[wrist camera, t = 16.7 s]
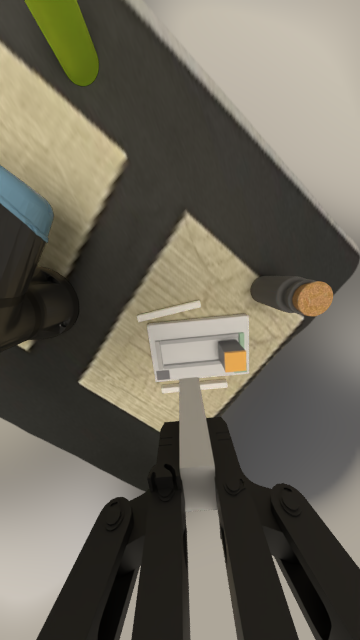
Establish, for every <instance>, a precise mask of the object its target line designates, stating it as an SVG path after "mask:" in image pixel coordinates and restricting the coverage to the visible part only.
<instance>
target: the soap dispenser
mask: <svg viewBox="0 0 360 640" xmlns="http://www.w3.org/2000/svg"><path fill="white" fill-rule="evenodd" d="M24 1H25V3H26V4H27V6H28V8H29V10H30V11H31V13H32V15H33V17H34V18H35V20H36V22H37V24H38V25H39V27H40V29H41V31H42V32H43V34H44V36H45V38H46V40H47V41H48V43H49V45H50V47H51V48H52V50H53V52H54V54H55V55H56V57H57V59H58V61H59V62H60V64H61V66H62V68H63V69H64V71H65V73H66V75H67V76H68V78H69V79H70V80H71V81H72V82H73V83H75V84H77V85H79V86H87V85H89V84H91V83H92V82H93V81H94V80H95V78H96V76H97V74H98V69H99V62H98V57H97V53H96V51H95V48H94V45H93V43H92V40H91V37H90V35H89V32H88V29H87V27H86V24H85V21H84V19H83V16H82V13H81V11H80V8H79V5H78V3H77V0H24Z"/></svg>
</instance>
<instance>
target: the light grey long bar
mask: <svg viewBox="0 0 360 640" xmlns="http://www.w3.org/2000/svg"><path fill="white" fill-rule="evenodd" d="M199 384H200V389H201V390H204V389H215V388H226V387H227V381H226V379H221V380H210V381H199ZM161 389H162V393H172V392H179V383H177V384H167V385H162V388H161Z"/></svg>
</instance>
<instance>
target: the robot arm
mask: <svg viewBox="0 0 360 640" xmlns="http://www.w3.org/2000/svg"><path fill="white" fill-rule="evenodd" d="M53 217H54V214H53V210H52V207H51V206H50V204H49V203H48V201H47V200H46V199H45V198H44V197H42V196H41V195H40V194H39V193H37V192H36V191H35V190H33V189H32V188H31V187H29V186H28V185H27V184H25V183H24V182H23V181H21V180H20V179H19V178H17V177H16V176H15V175H13V174H12V173H10V172H9V171H8V170H6V169H5V168H4V167H2V166H1V165H0V352H2V351H4V350H6V349H8V348H11V347H13V346H15V345H17V344H20V343H22V342H24V341H26V340H34V339H47V338H52V337H56V336H58V335H60V334H62V333H64V332H66V331H67V330H69V329H70V328H71V327H72V326H73V325H74V323H75V322H76V320H77V317H78V313H79V303H78V298H77V295H76V293H75V291H74V289H73V287H72V286H71V285H70V283H69V282H68V281H67V280H66V279H65V278H64V277H63V276H61V275H60V274H58V273H57V272H55V271H53V270H50V269H47V268H43V267H37V264H38V262H39V259H40V257H41V254H42V252H43V249H44V247H45V244H46V243H48V234H49V231H50V228H51V224H52V221H53ZM147 479H148V483H149V489H148V490H147V491H146V492H145V493H144V494H142V495H141V496H139V497H137V498H135V499H133V500H130V501H128V500H127V499H126V498H124V497H117V498H115V499H113V500H111V501H110V502H109V503H107V504H106V505H105V506H104V508H103V509H102V511H101V512H100V515H99V516H98V518H97V520H96V522H95V524H94V526H93V528H92V530H91V532H90V534H89V536H88V538H87V540H86V542H85V544H84V546H83V548H82V550H81V552H80V554H79V556H78V558H77V560H76V562H75V564H74V566H73V568H72V570H71V572H70V574H69V576H68V578H67V580H66V582H65V584H64V586H63V588H62V590H61V592H60V594H59V596H58V598H57V600H56V602H55V604H54V606H53V608H52V610H51V612H50V614H49V616H48V618H47V620H46V622H45V624H44V626H43V628H42V630H41V632H40V633H39V636H38V637H37V639H36V640H119V639H120V635H121V632H122V628H123V625H124V621H125V617H126V614H127V610H128V607H129V603H130V600H131V596H132V592H133V589H134V585H135V582H136V578H137V574H138V571H139V567H140V566H141V570H140V577H139V585H138V593H137V600H136V608H135V616H134V624H133V632H132V639H131V640H190V616H189V586H188V585H189V583H188V552H187V528H186V515H185V512H191V511H203V510H217V509H218V514H219V522H220V537H221V539H222V544H223V550H224V557H225V563H226V569H227V576H228V582H229V589H230V595H231V601H232V608H233V614H234V620H235V626H236V633H237V639H238V640H299V638H298V636H297V632H296V629H295V626H294V623H293V620H292V617H291V614H290V611H289V608H288V605H287V601H286V599H285V595H284V592H283V589H282V586H281V583H280V580H279V577H278V574H277V571H276V568H275V565H274V562H273V558H272V555H273V556H274V557H275V559H276V561H277V563H278V565H279V567H280V569H281V571H282V573H283V575H284V577H285V579H286V581H287V583H288V585H289V587H290V589H291V591H292V593H293V595H294V597H295V599H296V601H297V603H298V605H299V607H300V609H301V611H302V613H303V615H304V617H305V619H306V621H307V623H308V625H309V627H310V629H311V631H312V633H313V635H314V637H315V639H316V640H360V569H359V567H358V566H357V565H356V564H355V562H354V561H353V560H352V558H351V557H350V556H349V554H348V553H347V552H346V551H345V549H344V548H343V547H342V545H341V544H340V543H339V541H338V540H337V539H336V538H335V536H334V535H333V534H332V532H331V531H330V530H329V528H328V527H327V526H326V525H325V523H324V522H323V521H322V519H321V518H320V517H319V515H318V514H317V513H316V512H315V510H314V509H313V508H312V506H311V505H310V504H309V503H308V501H307V500H306V499H305V497H304V496H303V495H302V494H301V493H300V492H299V491H298V490H297V489H295V488H294V487H292V486H290V485H287V484H284V483H282V484H276V485H275V486H274V487H273V488H272V489H269V488H266V487H262V486H259V485H257V484H254V483H253V482H251V481H250V480H249V479H248V478H247V477H246V476H245V475H244V474H243V472H242V470H241V468H240V465H239V462H238V459H237V455H236V452H235V450H234V446H233V443H232V440H231V437H230V433H229V430H228V427H227V424H226V422H225V421H224V420H223V419H222V418H221V417H214V418H206V416H205V411H204V405H203V400H202V394H201V389H200V384H199V378H198V377H193V378H182V379H179V421H175V422H165V423H164V425H163V427H162V428H161V431H160V440H159V448H158V457H157V464H156V465H155V466H153V468H152V469H151V471H150V472H149V475H148V478H147Z"/></svg>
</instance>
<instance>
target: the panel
mask: <svg viewBox="0 0 360 640" xmlns="http://www.w3.org/2000/svg"><path fill="white" fill-rule="evenodd" d="M147 330H148V336H149V342H150V349H151V355H152V361H153V368H154V374H155V380H156V382H162V381H173V380H179V379H182V378H193V377H198V378H205V377H216V376H227V375H238V374H248V373H249V315H247V314H236V315H226V316H216V317H206V318H196V319H186V320H176V321H166V322H156V323H148V325H147ZM227 340H237V341H238V342H239V344H240V345H241V346H242V347H243V348H244V349H245V351H246V371H237V372H225V370H224V368H223V366H222V364H221V362H220V360H219V353H218V341H227Z"/></svg>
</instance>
